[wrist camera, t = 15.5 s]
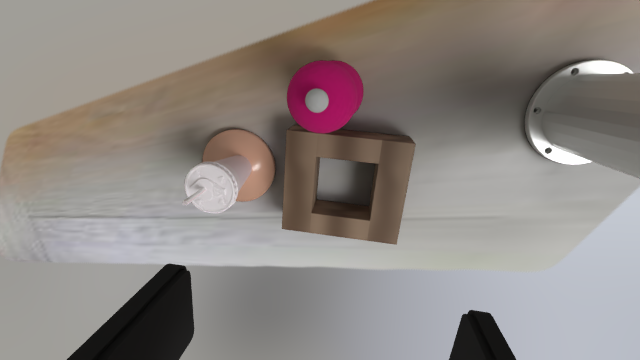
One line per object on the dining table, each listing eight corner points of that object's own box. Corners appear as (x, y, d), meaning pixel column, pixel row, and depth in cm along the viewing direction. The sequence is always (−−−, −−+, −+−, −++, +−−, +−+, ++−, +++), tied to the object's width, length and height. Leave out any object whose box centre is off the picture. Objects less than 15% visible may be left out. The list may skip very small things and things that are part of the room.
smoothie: (218, 143, 44) (158, 171, 31) (260, 148, 44) (218, 178, 30) (219, 185, 46) (163, 227, 33) (260, 189, 46) (220, 234, 33)
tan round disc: (277, 133, 44) (275, 134, 43) (274, 203, 47) (272, 205, 46) (204, 125, 45) (200, 126, 44) (207, 194, 48) (203, 196, 47)
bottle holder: (409, 136, 42) (415, 143, 37) (392, 227, 46) (396, 244, 41) (294, 124, 43) (286, 130, 38) (289, 214, 48) (281, 228, 43)
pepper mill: (298, 91, 42) (247, 102, 23) (335, 49, 39) (312, 23, 20) (336, 129, 42) (317, 169, 24) (374, 90, 40) (386, 99, 21)
